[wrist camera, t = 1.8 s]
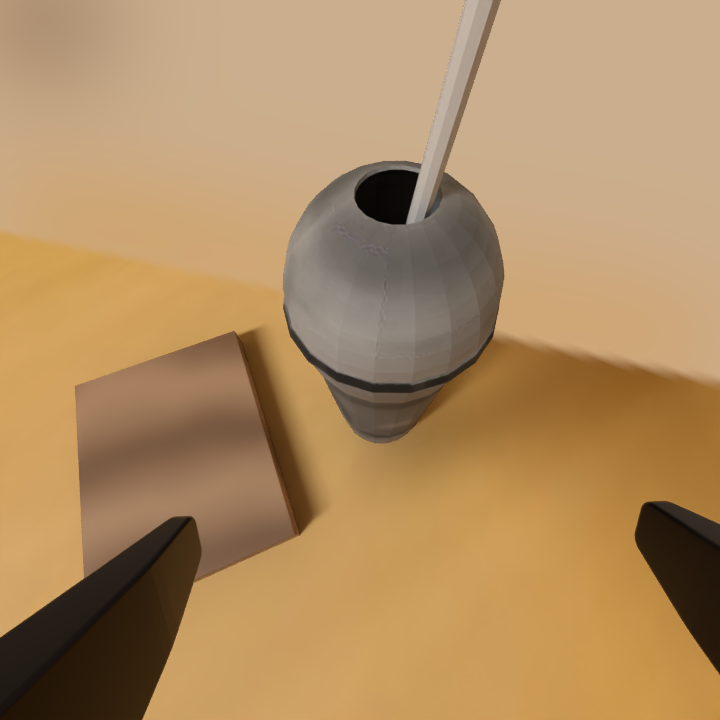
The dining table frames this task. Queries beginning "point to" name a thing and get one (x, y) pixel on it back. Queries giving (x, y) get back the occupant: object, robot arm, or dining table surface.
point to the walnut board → (180, 457)
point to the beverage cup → (398, 269)
